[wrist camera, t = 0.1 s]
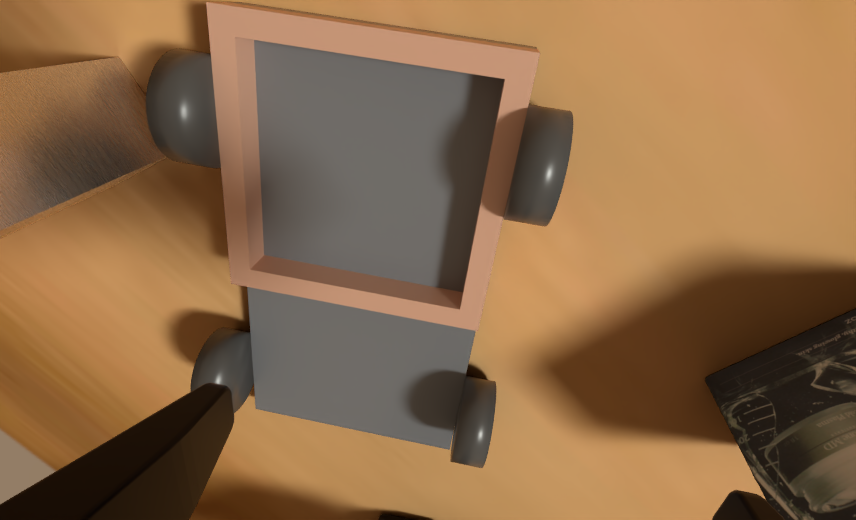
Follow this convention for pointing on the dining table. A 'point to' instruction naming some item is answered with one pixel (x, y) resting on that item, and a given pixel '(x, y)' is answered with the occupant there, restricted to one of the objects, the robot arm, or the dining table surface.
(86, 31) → the dining table surface
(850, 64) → the dining table surface
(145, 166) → the block
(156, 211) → the dining table surface
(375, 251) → the chassis
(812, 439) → the box
